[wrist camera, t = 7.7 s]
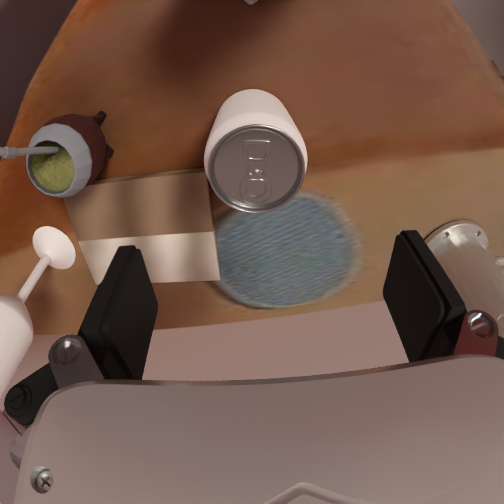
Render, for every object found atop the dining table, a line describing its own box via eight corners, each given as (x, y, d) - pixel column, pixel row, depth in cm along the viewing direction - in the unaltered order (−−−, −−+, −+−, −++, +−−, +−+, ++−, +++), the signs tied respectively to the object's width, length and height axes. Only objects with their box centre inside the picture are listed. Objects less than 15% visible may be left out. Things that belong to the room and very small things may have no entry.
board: (206, 167, 30) (205, 172, 30) (220, 273, 38) (220, 280, 37) (65, 185, 31) (60, 190, 30) (99, 278, 39) (96, 284, 38)
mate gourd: (100, 181, 31) (29, 273, 19) (45, 141, 28) (-46, 215, 16) (136, 124, 28) (60, 197, 16) (75, 82, 24) (-30, 129, 12)
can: (217, 154, 30) (202, 219, 20) (216, 88, 26) (197, 117, 16) (285, 155, 30) (306, 220, 20) (290, 89, 26) (318, 120, 16)
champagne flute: (77, 273, 38) (6, 440, 19) (36, 263, 37) (-44, 414, 18) (74, 231, 34) (-23, 411, 15) (29, 221, 33) (-75, 379, 14)
